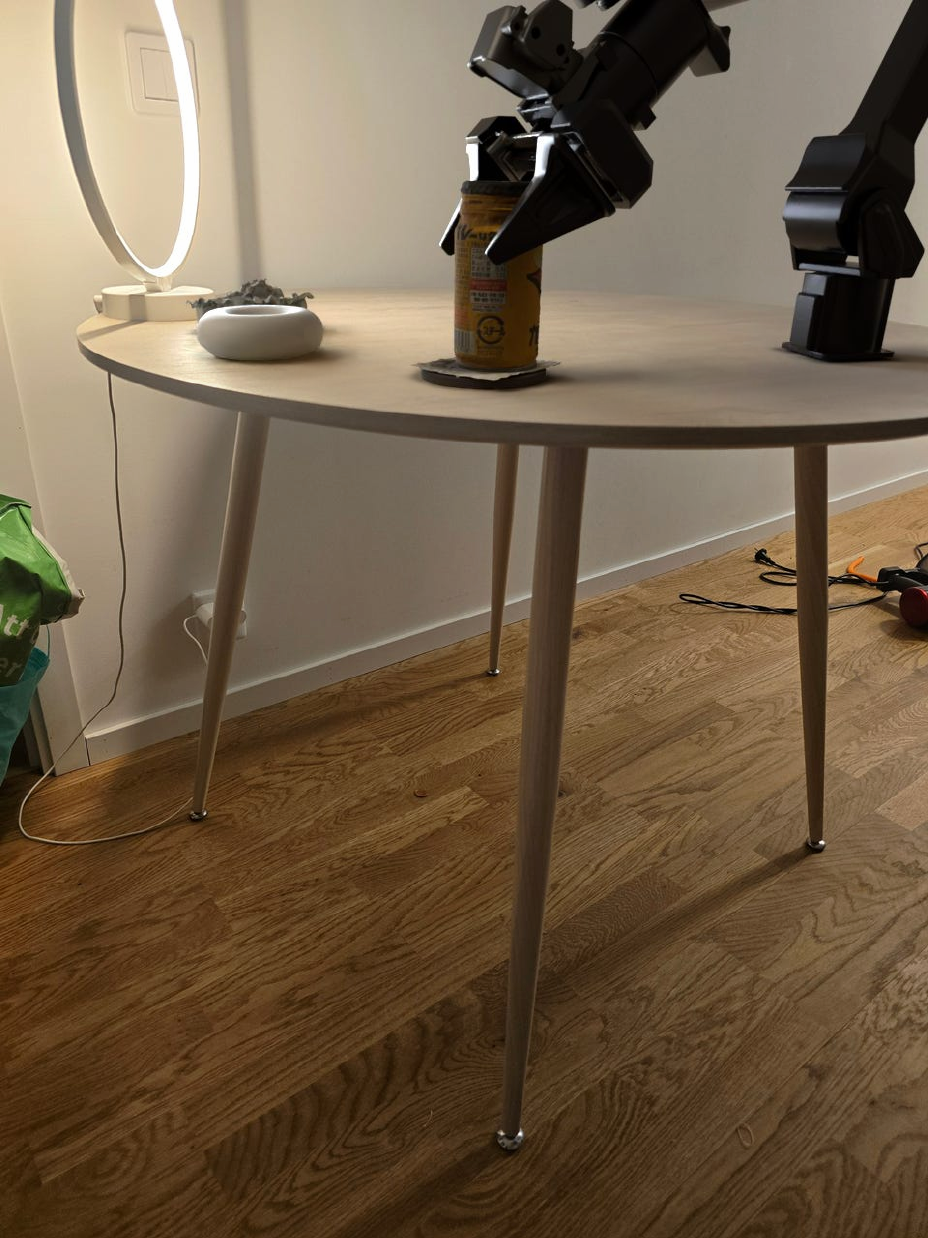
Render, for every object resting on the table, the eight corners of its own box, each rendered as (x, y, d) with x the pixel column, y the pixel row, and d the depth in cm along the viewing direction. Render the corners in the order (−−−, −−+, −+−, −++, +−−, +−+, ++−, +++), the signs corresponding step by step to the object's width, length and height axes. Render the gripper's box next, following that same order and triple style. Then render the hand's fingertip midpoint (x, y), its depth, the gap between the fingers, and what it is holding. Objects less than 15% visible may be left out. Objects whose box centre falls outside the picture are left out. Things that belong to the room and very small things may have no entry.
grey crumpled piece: (270, 320, 90) (266, 277, 88) (323, 326, 86) (321, 281, 84) (183, 331, 82) (177, 284, 80) (238, 339, 78) (233, 289, 76)
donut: (241, 342, 77) (172, 358, 69) (238, 300, 76) (167, 311, 67) (345, 349, 74) (287, 366, 66) (343, 306, 73) (283, 318, 64)
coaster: (524, 362, 68) (524, 354, 68) (564, 385, 61) (564, 376, 60) (410, 366, 66) (410, 358, 66) (435, 391, 59) (435, 381, 58)
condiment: (561, 365, 64) (572, 180, 59) (493, 383, 58) (498, 179, 53) (481, 354, 68) (484, 180, 63) (409, 369, 62) (405, 179, 57)
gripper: (494, -13, 62) (347, 162, 63) (625, -82, 46) (425, 154, 47) (587, 119, 68) (451, 277, 69) (732, 99, 52) (551, 304, 53)
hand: (465, 255), depth 60 cm, fingers open, 9 cm apart
